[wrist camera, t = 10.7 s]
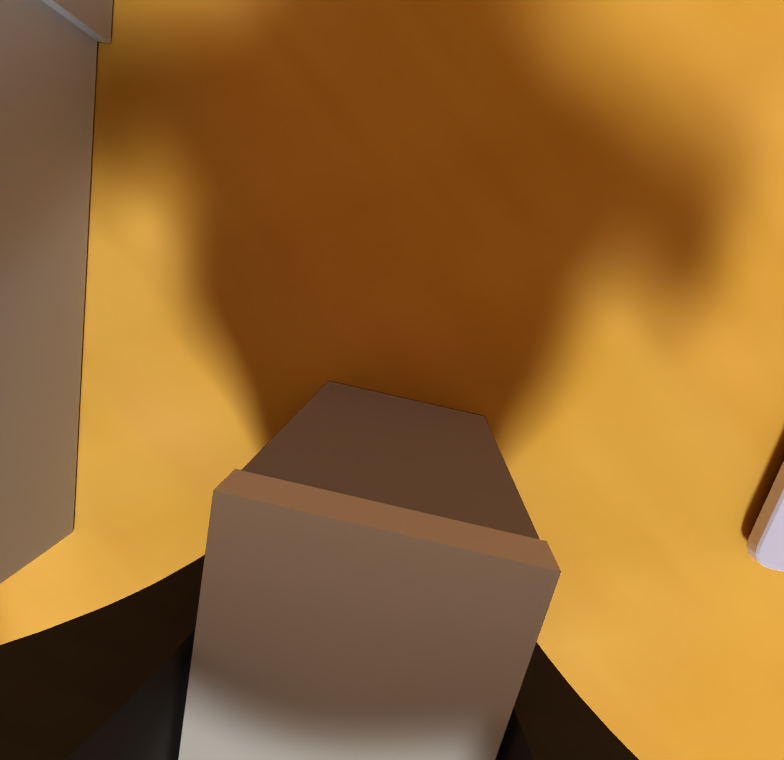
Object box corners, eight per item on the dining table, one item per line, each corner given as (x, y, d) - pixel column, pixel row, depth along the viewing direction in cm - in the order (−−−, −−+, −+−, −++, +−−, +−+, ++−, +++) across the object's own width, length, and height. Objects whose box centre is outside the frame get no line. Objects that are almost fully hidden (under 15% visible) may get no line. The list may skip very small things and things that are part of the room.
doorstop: (486, 414, 11) (561, 571, 5) (414, 674, 13) (406, 1012, 7) (326, 378, 11) (213, 490, 5) (278, 641, 13) (154, 947, 7)
